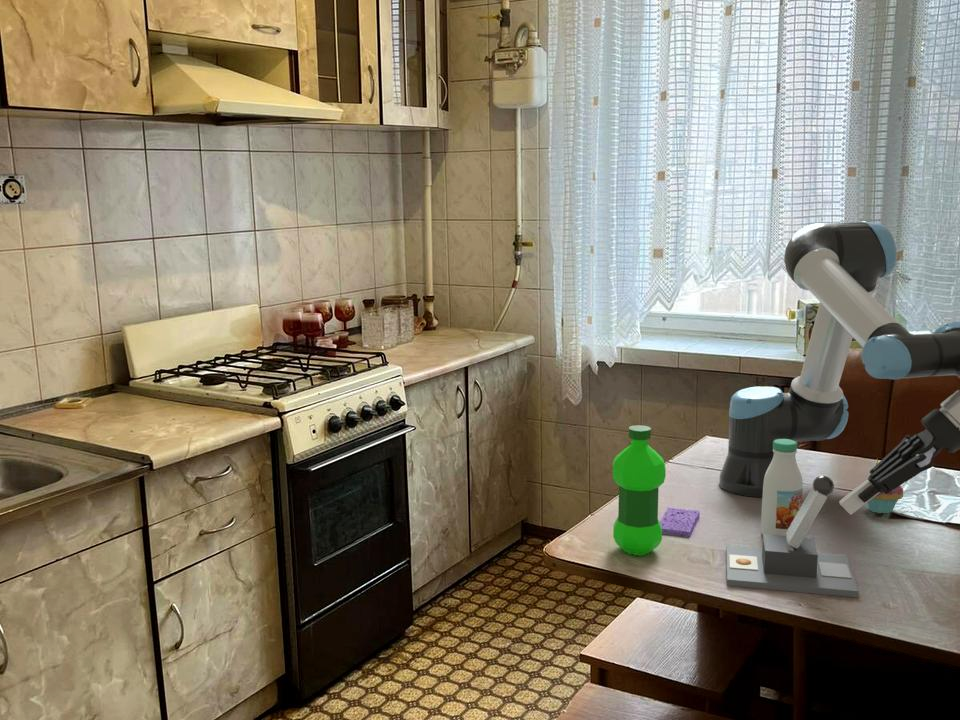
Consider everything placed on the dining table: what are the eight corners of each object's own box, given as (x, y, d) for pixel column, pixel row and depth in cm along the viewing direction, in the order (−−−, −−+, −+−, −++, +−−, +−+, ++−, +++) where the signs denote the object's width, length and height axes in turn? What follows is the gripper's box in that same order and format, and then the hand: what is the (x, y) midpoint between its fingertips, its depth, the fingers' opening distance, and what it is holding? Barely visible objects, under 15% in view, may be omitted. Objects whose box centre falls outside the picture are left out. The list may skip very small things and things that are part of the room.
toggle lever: (799, 539, 170) (835, 476, 166) (802, 551, 164) (839, 486, 160) (781, 530, 170) (817, 468, 166) (783, 542, 165) (820, 477, 161)
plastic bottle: (641, 536, 187) (644, 418, 182) (674, 554, 177) (678, 431, 172) (600, 545, 182) (602, 425, 177) (632, 565, 173) (635, 438, 168)
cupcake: (881, 519, 194) (885, 465, 191) (850, 506, 201) (854, 454, 199) (910, 513, 197) (914, 459, 195) (879, 500, 205) (883, 449, 202)
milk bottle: (759, 540, 184) (764, 445, 180) (761, 526, 191) (766, 434, 187) (799, 544, 181) (805, 448, 177) (800, 530, 188) (805, 437, 184)
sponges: (699, 518, 197) (699, 510, 197) (689, 539, 186) (690, 531, 186) (667, 514, 200) (667, 506, 200) (655, 535, 189) (655, 526, 188)
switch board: (845, 560, 173) (847, 530, 172) (857, 597, 158) (860, 564, 157) (726, 550, 179) (727, 521, 178) (727, 585, 164) (728, 553, 162)
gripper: (980, 449, 150) (865, 537, 157) (960, 428, 162) (854, 510, 169) (948, 416, 150) (834, 505, 157) (930, 398, 162) (825, 481, 170)
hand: (844, 508), depth 163 cm, fingers closed
